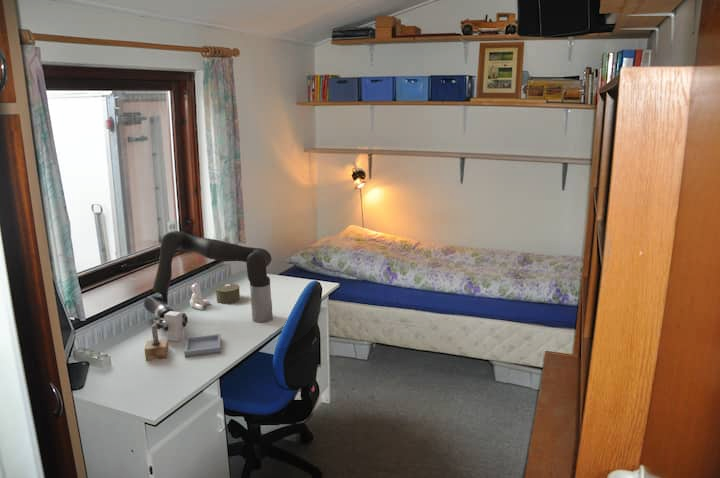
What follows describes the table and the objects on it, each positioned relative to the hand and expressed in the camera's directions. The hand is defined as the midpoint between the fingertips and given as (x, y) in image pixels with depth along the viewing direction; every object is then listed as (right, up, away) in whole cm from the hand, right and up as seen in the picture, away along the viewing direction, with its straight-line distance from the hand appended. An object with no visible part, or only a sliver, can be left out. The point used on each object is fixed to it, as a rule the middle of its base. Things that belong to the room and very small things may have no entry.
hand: (175, 326), depth 240 cm
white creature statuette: (-2, +3, +41) cm, 41 cm away
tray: (+13, -8, -5) cm, 16 cm away
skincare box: (-1, -6, +4) cm, 7 cm away
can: (+11, +6, +50) cm, 51 cm away
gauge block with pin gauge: (-4, -10, -11) cm, 15 cm away
